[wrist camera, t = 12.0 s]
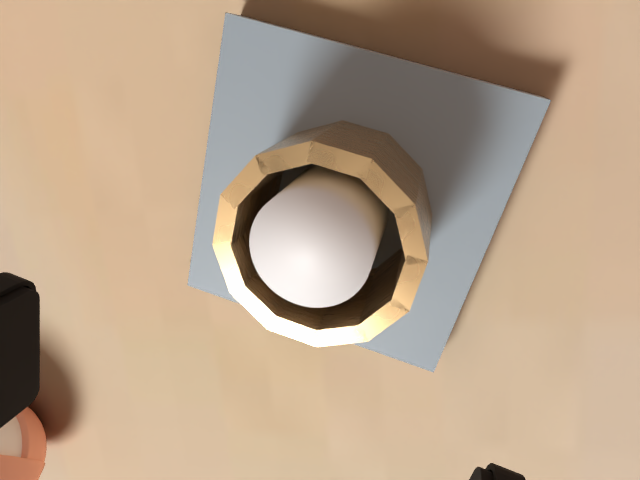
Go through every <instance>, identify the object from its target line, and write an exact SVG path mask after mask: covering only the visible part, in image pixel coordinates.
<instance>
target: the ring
mask: <svg viewBox="0 0 640 480" xmlns="http://www.w3.org/2000/svg"><path fill="white" fill-rule="evenodd" d="M308 164H315V165H319V166H322V167H325V168H328V169H332V170H335V171H338V172H341V173H345V174H348V175H351V176H355V177H358V178H360V179H361V180H362V181H363V182H364V183H365V184H366V185H367V186H368V187H369V188H370V189H371V190H372V191H373V192H374V193H375V194H376V195H377V196H378V198H379V199H380V200H381V201H382V202H383V203H384V204H385V205H386V206H387V207H388V208H389V209H390V210H391V211H392V212H393V213H394V214H395V218H396V222H397V226H398V230H399V234H400V239H401V243H402V248H401V249H399V250H398V251H397V252H396V253H394V254H393V255H392V256H391V257H390V258H388V259H387V260H386V261H385V262H383V263H382V264H381V265H380V266H378V267H377V268H373V269H371V270H370V273H369V276H368V278H367V280H366V282H365V283H364V285H363V286H362V287H361V289H360V290H359V291H358V292H357V293H356V294H355V295H354V296H352V297H351V298H349V299H348V300H346V301H344V302H342V303H340V304H337V305H334V306H330V307H323V308H312V307H305V306H301V305H297V304H294V303H292V302H290V301H287V300H286V299H284V298H282V297H280V296H279V295H278V294H276V293H275V292H274V291H273V290H271V289H270V288H269V287H268V286H267V285H266V284H265V282H264V281H263V280H262V278H261V277H260V276H259V274H258V272H257V270H256V269H255V266H254V264H253V261H252V258H251V254H250V247H249V238H250V231H251V227H252V224H253V222H254V219H255V217H256V216H257V214H258V212H259V211H260V210H261V209H262V207H263V206H264V205H265V204H266V203H268V202H269V201H270V200H271V199H272V198H273V197H275V196H276V195H277V194H278V193H279V188H280V184H281V179H282V174H283V172H284V171H285V170H287V169H291V168H296V167H300V166H304V165H308ZM431 223H432V211H431V207H430V202H429V197H428V193H427V188H426V183H425V179H424V174H423V169H422V168H421V167H420V166H419V165H418V164H417V163H416V162H415V161H414V160H413V159H412V157H411V156H410V155H409V154H408V153H407V152H406V151H405V150H404V149H403V148H402V147H401V146H400V145H399V144H398V143H397V142H396V140H395V139H394V138H393V137H392V136H391V135H390V134H388V133H385V132H382V131H378V130H375V129H371V128H368V127H364V126H361V125H358V124H354V123H351V122H347V121H344V120H342V121H338V122H334V123H330V124H327V125H323V126H319V127H315V128H312V129H308V130H304V131H300V132H297V133H296V134H294V135H292V136H290V137H288V138H286V139H284V140H283V141H281V142H279V143H277V144H275V145H273V146H271V147H270V148H268V149H266V150H264V151H262V152H260V153H259V154H257V155H255V156H254V157H253V159H252V160H251V161H250V162H249V163H248V164H247V165H246V166H245V167H244V169H243V170H242V171H241V172H240V173H239V174H238V175H237V176H236V177H235V179H234V180H233V181H232V182H231V183H230V184H229V185H228V186H227V187H226V189H225V190H224V191H223V192H222V193H221V194H220V199H219V205H218V212H217V218H216V224H215V231H214V237H213V243H212V245H213V248H214V251H215V254H216V256H217V259H218V262H219V264H220V267H221V270H222V273H223V275H224V278H225V281H226V283H227V286H228V289H229V292H230V294H232V295H233V296H234V297H235V298H236V299H237V300H238V301H239V302H240V303H241V304H242V305H243V306H244V307H245V308H246V309H247V310H248V311H249V312H250V313H251V314H252V315H253V316H254V317H255V318H256V319H257V320H258V321H259V322H260V323H261V324H262V325H263V326H264V327H265V328H267V329H268V330H270V331H273V332H276V333H279V334H281V335H284V336H287V337H290V338H293V339H295V340H298V341H301V342H304V343H307V344H309V345H312V346H315V347H323V346H332V345H341V344H350V343H359V342H368V341H369V340H371V339H372V338H373V337H375V336H376V335H378V334H379V333H380V332H382V331H383V330H385V329H386V328H387V327H389V326H390V325H391V324H393V323H394V322H396V321H397V320H398V319H400V318H401V317H402V316H404V315H405V314H407V313H408V312H409V311H410V308H411V306H412V303H413V300H414V298H415V295H416V292H417V290H418V287H419V284H420V282H421V279H422V277H423V274H424V271H425V269H426V266H427V263H428V258H429V246H430V234H431Z"/></svg>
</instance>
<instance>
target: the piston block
mask: <svg viewBox="0 0 640 480" xmlns="http://www.w3.org/2000/svg"><path fill="white" fill-rule="evenodd" d="M550 102H551V100H549V99H547V98H545V97H542V96H539V95H535V94H531V93H527V92H524V91H520V90H516V89H513V88H509V87H505V86H501V85H498V84H494V83H490V82H487V81H483V80H479V79H475V78H472V77H468V76H464V75H461V74H457V73H453V72H449V71H446V70H442V69H438V68H435V67H431V66H427V65H423V64H420V63H416V62H412V61H408V60H405V59H401V58H397V57H394V56H390V55H386V54H382V53H379V52H375V51H371V50H368V49H364V48H360V47H356V46H353V45H349V44H345V43H342V42H338V41H334V40H330V39H327V38H323V37H319V36H316V35H312V34H308V33H304V32H301V31H297V30H293V29H290V28H286V27H282V26H278V25H275V24H271V23H267V22H264V21H260V20H256V19H252V18H249V17H245V16H241V15H236V14H231V13H226V14H225V21H224V28H223V35H222V42H221V49H220V57H219V64H218V71H217V78H216V85H215V92H214V99H213V107H212V114H211V121H210V128H209V135H208V142H207V150H206V157H205V164H204V171H203V178H202V185H201V192H200V200H199V207H198V214H197V221H196V228H195V235H194V243H193V250H192V257H191V264H190V271H189V278H188V286H191V287H194V288H197V289H199V290H202V291H205V292H208V293H211V294H214V295H216V296H219V297H222V298H225V299H228V300H231V301H233V302H236V303H239V304H241V303H240V302H239V301H238V300H237V299H236V298H235V297H234V296H233V295H232V294H230V292H229V289H228V286H227V283H226V281H225V278H224V275H223V273H222V270H221V267H220V264H219V262H218V259H217V256H216V254H215V251H214V248H213V245H212V243H213V237H214V231H215V224H216V218H217V212H218V205H219V199H220V194H221V193H222V192H223V191H224V190H225V189H226V187H227V186H228V185H229V184H230V183H231V182H232V181H233V180H234V179H235V177H236V176H237V175H238V174H239V173H240V172H241V171H242V170H243V169H244V167H245V166H246V165H247V164H248V163H249V162H250V161H251V160H252V159H253V157H254V156H255V155H257V154H259V153H260V152H262V151H264V150H266V149H268V148H270V147H271V146H273V145H275V144H277V143H279V142H281V141H283V140H284V139H286V138H288V137H290V136H292V135H294V134H296V133H297V132H300V131H304V130H308V129H312V128H315V127H319V126H323V125H327V124H330V123H334V122H338V121H342V120H344V121H347V122H351V123H354V124H358V125H361V126H364V127H368V128H371V129H375V130H378V131H382V132H385V133H388V134H390V135H391V136H392V137H393V138H394V139H395V140H396V142H397V143H398V144H399V145H400V146H401V147H402V148H403V149H404V150H405V151H406V152H407V153H408V154H409V155H410V156H411V157H412V159H413V160H414V161H415V162H416V163H417V164H418V165H419V166H420V167H421V168H422V169H423V174H424V179H425V183H426V188H427V193H428V197H429V202H430V207H431V211H432V223H431V234H430V246H429V258H428V263H427V266H426V269H425V271H424V274H423V277H422V279H421V282H420V284H419V287H418V290H417V292H416V295H415V298H414V300H413V303H412V306H411V308H410V311H409V312H408V313H407V314H405V315H404V316H402V317H401V318H400V319H398V320H397V321H396V322H394V323H393V324H391V325H390V326H389V327H387V328H386V329H385V330H383V331H382V332H380V333H379V334H378V335H376V336H375V337H373V338H372V339H371V340H369V341H368V342H359V343H352V344H355V345H358V346H361V347H363V348H366V349H369V350H372V351H375V352H378V353H380V354H383V355H386V356H389V357H392V358H394V359H397V360H400V361H403V362H406V363H409V364H411V365H414V366H417V367H420V368H423V369H426V370H428V371H431V372H434V370H435V368H436V365H437V363H438V361H439V359H440V356H441V354H442V352H443V349H444V347H445V345H446V342H447V340H448V338H449V335H450V333H451V331H452V328H453V326H454V324H455V321H456V319H457V317H458V315H459V312H460V310H461V308H462V305H463V303H464V301H465V298H466V296H467V294H468V291H469V289H470V287H471V284H472V282H473V280H474V277H475V275H476V273H477V271H478V268H479V266H480V264H481V261H482V259H483V257H484V254H485V252H486V250H487V247H488V245H489V243H490V240H491V238H492V236H493V234H494V231H495V229H496V227H497V224H498V222H499V220H500V217H501V215H502V213H503V210H504V208H505V206H506V203H507V201H508V199H509V196H510V194H511V192H512V190H513V187H514V185H515V183H516V180H517V178H518V176H519V173H520V171H521V169H522V166H523V164H524V162H525V159H526V157H527V155H528V152H529V150H530V148H531V146H532V143H533V141H534V139H535V136H536V134H537V132H538V129H539V127H540V125H541V122H542V120H543V118H544V115H545V113H546V111H547V108H548V106H549V104H550ZM249 247H250V254H251V258H252V261H253V264H254V266H255V269H256V270H257V272H258V274H259V276H260V277H261V278H262V280H263V281H264V282H265V284H266V285H267V286H268V287H269V288H270V289H271V290H273V291H274V292H275V293H276V294H278V295H279V296H280V297H282V298H284V299H286V300H287V301H290V302H292V303H294V304H297V305H301V306H305V307H312V308H323V307H330V306H334V305H337V304H340V303H342V302H344V301H346V300H348V299H349V298H351V297H352V296H354V295H355V294H356V293H357V292H358V291H359V290H360V289H361V287H362V286H363V285H364V283H365V282H366V280H367V278H368V276H369V273H370V270H371V269H373V268H377V267H378V266H380V265H381V264H382V263H383V262H385V261H386V260H387V259H388V258H390V257H391V256H392V255H393V254H394V253H396V252H397V251H398V250H399V249H401V248H402V243H401V239H400V234H399V230H398V226H397V222H396V218H395V214H394V213H393V212H392V211H391V210H390V209H389V208H388V207H387V206H386V205H385V204H384V203H383V202H382V201H381V200H380V199H379V198H378V196H377V195H376V194H375V193H374V192H373V191H372V190H371V189H370V188H369V187H368V186H367V185H366V184H365V183H364V182H363V181H362V180H361V179H360V178H358V177H355V176H351V175H348V174H345V173H341V172H338V171H335V170H332V169H328V168H325V167H322V166H319V165H315V164H308V165H304V166H300V167H296V168H291V169H287V170H285V171H284V172H283V174H282V179H281V184H280V188H279V193H278V194H277V195H276V196H275V197H273V198H272V199H271V200H270V201H269V202H268V203H266V204H265V205H264V206H263V207H262V209H261V210H260V211H259V212H258V214H257V216H256V217H255V219H254V222H253V224H252V227H251V231H250V238H249Z"/></svg>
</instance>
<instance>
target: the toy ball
mask: <svg viewBox="0 0 640 480" xmlns="http://www.w3.org/2000/svg"><path fill="white" fill-rule="evenodd" d="M45 456H46V436H45V431H44V428H43V426H42V424H41V422H40V420H39V418H38V417H37V416H36V414H35V413H34V412H33V411H32V410H31V409H30V408H28V407H27V408H25V409H24V410H23V411H22V412H20V413H19V414H18V415H17V416H15V417H14V418H13V419H11V420H10V421H9V422H8V423H6V424H5V425H4V426H3V427H1V428H0V480H38V479H39V477H40V475H41V473H42V470H43V468H44V465H45V463H44V461H45Z"/></svg>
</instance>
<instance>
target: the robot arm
mask: <svg viewBox="0 0 640 480" xmlns="http://www.w3.org/2000/svg"><path fill="white" fill-rule="evenodd" d="M39 373H40V298H39V294H38V292H36V287H35V285H34V283H32V282H31V281H28V280H26V279H23V278H21V277H18V276H16V275H13V274H11V273H5V272H3V273H0V428H1V427H3V426H4V425H5V424H6V423H8V422H9V421H10V420H11V419H13V418H14V417H15V416H17V415H18V414H19V413H20V412H22V411H23V410H24V409H25V408H27V407H28V406H29V405H30V404H31V403H32V402H33V401H34V399H35V398H36V396H37V394H38V392H39ZM469 480H525V477H524V476H523V475H521V474H519V473H516V472H514V471H511V470H508V469H506V468H503V467H501V466H498V465H496V464H493V463H490V464H489V465H488V466H487V467H486V469H483V468H481V467H477V468H476V469H475V470H474V472H473V474H472V476H471V477H470V479H469Z"/></svg>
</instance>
